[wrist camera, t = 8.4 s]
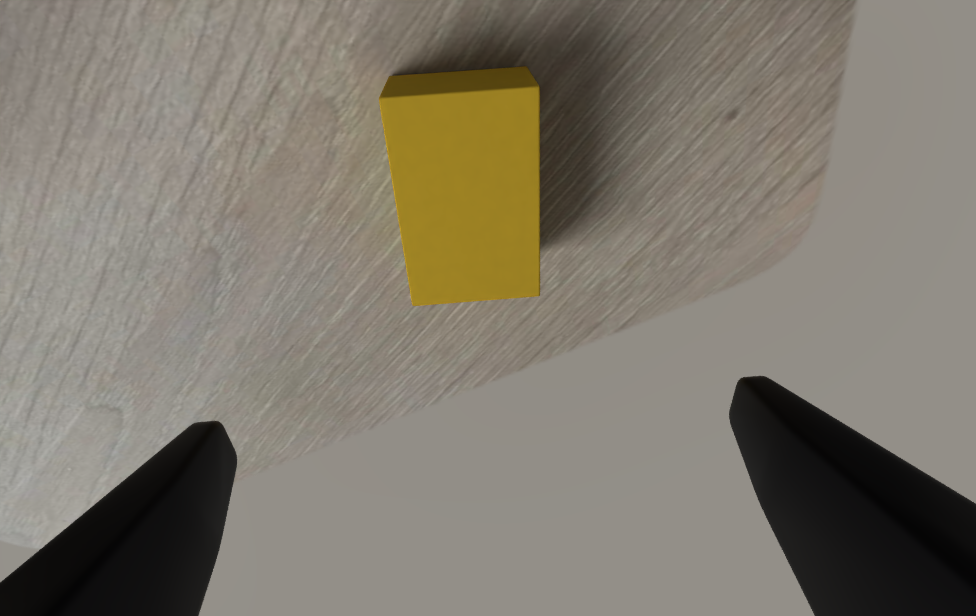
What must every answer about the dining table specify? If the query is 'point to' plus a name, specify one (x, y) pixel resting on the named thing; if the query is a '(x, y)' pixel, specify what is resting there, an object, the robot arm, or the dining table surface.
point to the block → (466, 182)
